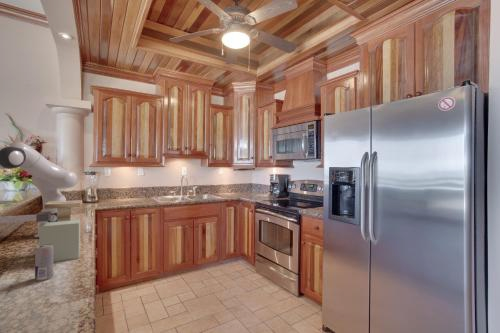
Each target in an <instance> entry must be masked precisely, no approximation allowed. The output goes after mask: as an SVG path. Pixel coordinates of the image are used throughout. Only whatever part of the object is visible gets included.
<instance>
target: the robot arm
mask: <svg viewBox="0 0 500 333" xmlns="http://www.w3.org/2000/svg"><path fill="white" fill-rule="evenodd" d="M17 168H20V169H22V170H24V171H25V172H26V173H27V174H29V175H30V176H32V177H31V183H32V184H33V186H34V187H36V188H37V189H38V191H39V192H40V195H41V199H42V212H50V211H51V219H50V220H49V221H41V222H38V226H37V233H36V234H34V235H33V236H34V238H39V227H40V226H41V225H42V224H43V223H47V222H57V208H51V209H44V204H46V203H47V202H54V201H67V198H66V196H64V194H63V193H61V191H60V189H63V190H64V189H70V188H74V187H75V185H76V184H77V183H78V175H77V174H76V172H73V171H71V170H68V169H65V168H63V167H62V166H59V165H57V164H55V163H53V162H52V161H51V160H48V159H47V158H46V157H45V156H44V155H42V154H41V153H40V152H39V151H37V149H34V148H33V147H32V146H30V145H28V144H27V143H24V142H20V141H18V142H14V143H11V144H9V146H3V145H0V170H5V169H6V170H12V169H17Z"/></svg>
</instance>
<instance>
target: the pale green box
mask: <svg viewBox="0 0 500 333" xmlns="http://www.w3.org/2000/svg"><path fill="white" fill-rule="evenodd" d="M38 238H39V239H38V240H39V241H38V243H39V245H38V246H40V245H44V244H52V245H53V263H57V262H62V261H69V260H76V259H77V260H78V259H79V258H80V254H81V251H80V243H81V219H76V220H75V219H71V221H59V222H47V223H43V224H42V225H41V226H40V227H39V237H38Z"/></svg>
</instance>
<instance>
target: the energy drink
mask: <svg viewBox="0 0 500 333" xmlns="http://www.w3.org/2000/svg"><path fill="white" fill-rule="evenodd" d="M34 254H35V255H34V280H35V281H36V282H42V281H43V282H44V281H47V280H50V279H51V278H53V277H54V262H53V245H52V244H44V245H40V246H39V245H37V246H36V247H35V249H34Z"/></svg>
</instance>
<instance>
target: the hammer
mask: <svg viewBox="0 0 500 333" xmlns="http://www.w3.org/2000/svg"><path fill="white" fill-rule="evenodd" d="M50 219H51V211H50V212H43V211H39V212H38V213H37V214H26V215H24V214H23V215H21V214H20V215H7V216H0V225H1V224H11V223H12V224H13V223H24V222H25V223H26V222H27V223H28V222H37V223H39V222H41V221H49V220H50Z"/></svg>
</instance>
